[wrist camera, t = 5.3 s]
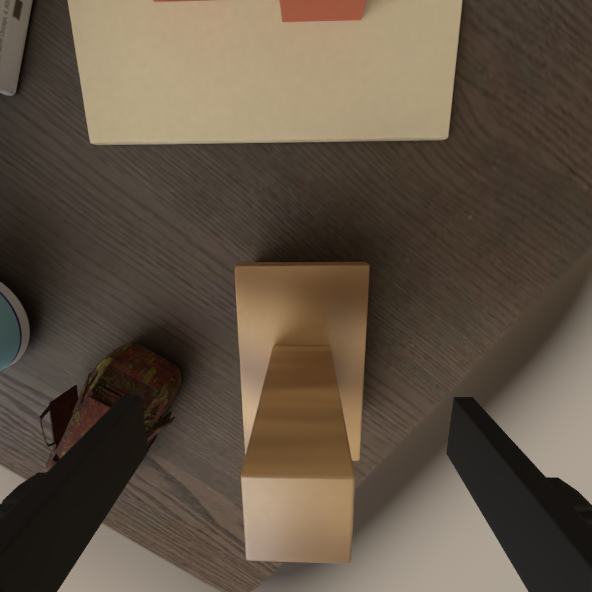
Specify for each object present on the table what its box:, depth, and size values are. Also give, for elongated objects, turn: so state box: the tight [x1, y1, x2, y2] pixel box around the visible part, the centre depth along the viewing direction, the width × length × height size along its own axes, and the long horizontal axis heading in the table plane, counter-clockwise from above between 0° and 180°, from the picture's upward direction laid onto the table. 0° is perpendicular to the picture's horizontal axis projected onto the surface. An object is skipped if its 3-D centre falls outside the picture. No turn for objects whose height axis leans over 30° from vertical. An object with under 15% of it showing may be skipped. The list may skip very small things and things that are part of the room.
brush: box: [234, 262, 370, 563], centre depth 15 cm, size 12×7×13 cm, turn 0°
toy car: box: [40, 343, 183, 472], centre depth 21 cm, size 12×7×5 cm, turn 147°
